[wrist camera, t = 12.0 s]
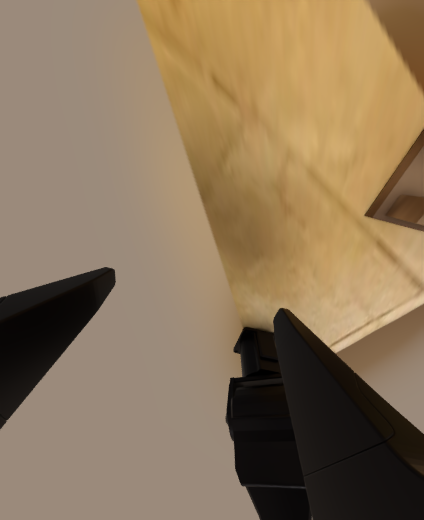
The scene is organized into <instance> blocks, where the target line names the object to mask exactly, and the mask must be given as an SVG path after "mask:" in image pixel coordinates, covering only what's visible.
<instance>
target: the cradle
mask: <svg viewBox="0 0 424 520" xmlns="http://www.w3.org/2000/svg"><path fill="white" fill-rule="evenodd" d="M365 216H368V217H371V218H375V219H379V220H382V221H386V222H390V223H394V224H398V225H401V226H405V227H409V228H413V229H417V230H420V231H424V130H423V132H422V133H421V135H420V136H419V137H418V139H417V140H416V142H415V143H414V145H413V146H412V148H411V149H410V151H409V152H408V153H407V155H406V156H405V158H404V159H403V161H402V162H401V164H400V165H399V167H398V168H397V169H396V171H395V172H394V174H393V175H392V177H391V178H390V180H389V181H388V183H387V184H386V185H385V187H384V188H383V190H382V191H381V193H380V194H379V196H378V197H377V199H376V200H375V201H374V203H373V204H372V206H371V207H370V209H369V210H368V212H367V213H366V215H365Z"/></svg>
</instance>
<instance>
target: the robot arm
mask: <svg viewBox="0 0 424 520" xmlns="http://www.w3.org/2000/svg"><path fill="white" fill-rule="evenodd" d="M115 282H116V281H115V270H114V269H112V268H108V267H104V268H101V269H98V270H94V271H90V272H87V273H84V274H80V275H77V276H73V277H70V278H66V279H63V280H59V281H56V282H52V283H49V284H46V285H42V286H39V287H35V288H32V289H29V290H25V291H22V292H18V293H15V294H11V295H8V296H7V297H6V296H5V297H1V298H0V429H1V428H2V427H3V425H4V424H5V423H6V420H8V419H9V418H10V417H11V415H12V414H13V413H14V412H15V411H16V409H17V408H18V407H19V406H20V405H21V403H22V402H23V401H24V400H25V398H26V397H27V396H28V395H29V394H30V392H31V391H32V390H33V388H35V386H36V385H37V384H38V382H39V381H40V380H41V379H42V378H43V376H44V375H45V374H46V373H47V372H48V371H49V369H50V368H51V367H52V365H54V363H55V362H56V361H57V360H58V358H59V357H60V356H61V355H62V354H63V352H64V351H65V350H66V349H67V348H68V346H69V345H70V344H71V343H72V341H73V340H74V339H75V338H76V337H77V335H78V334H79V333H80V332H81V330H82V329H83V328H84V327H85V326H86V324H87V323H88V322H89V321H90V320H91V318H92V317H93V316H94V315H95V313H96V312H97V311H98V310H99V308H100V307H101V305H102V304H103V302H104V301H105V299H106V298H107V296H108V295H109V293H110V292H111V290H112V289H113V287H114V285H115ZM273 324H274V333H275V334H273V333H269V332H264V331H260V330H255V329H251V328H244V329H243V330H242V333H241V335H240V337H239V339H238V341H237V343H236V345H235V347H234V352H235V353H239V354H241V366H242V377H240V378H234V377H233V378H230V384H229V392H228V403H227V414H226V423H227V424H228V426H229V432H230V436H231V438H232V440H233V441H234V449H235V469H236V472H237V475H238V478H239V481H240V483H241V485H242V486H246V488H247V491H248V493H249V495H250V497H251V500H252V502H253V504H254V506H255V509H256V511H257V513H258V515H259V518H260V520H424V434H423V433H422V432H421V431H420V430H418V429H417V428H416V427H415V426H414V425H413V424H411V423H410V422H409V421H408V420H407V419H406V418H405V417H404V416H402V415H401V414H400V413H399V412H398V411H397V410H395V409H394V408H393V407H392V406H391V405H390V404H389V403H388V402H387V401H385V400H384V399H383V398H382V397H381V396H380V395H379V394H378V393H377V392H375V391H374V390H373V389H372V388H371V387H370V386H369V385H368V384H367V383H366V382H365V381H364V380H362V378H360V377H359V376H358V375H357V374H356V373H354V371H353V370H352V369H351V368H350V367H349V366H348V365H347V364H346V363H345V362H343V361H342V360H341V359H340V358H339V357H338V356H337V355H336V354H335V353H334V352H333V351H332V350H331V349H330V348H329V347H328V346H327V345H326V344H324V343H323V342H322V341H321V340H320V339H319V338H318V337H317V336H316V335H315V334H314V333H313V332H312V331H311V330H310V329H309V328H308V327H306V326H305V325H304V324H303V323H302V322H301V321H300V320H299V319H298V318H297V317H296V316H295V315H294V314H293V313H292V312H291V311H290V310H288V309H285V308H280V309H279V310H278V312H277V314H276V315H275V317H274V320H273ZM312 518H313V519H312Z"/></svg>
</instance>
